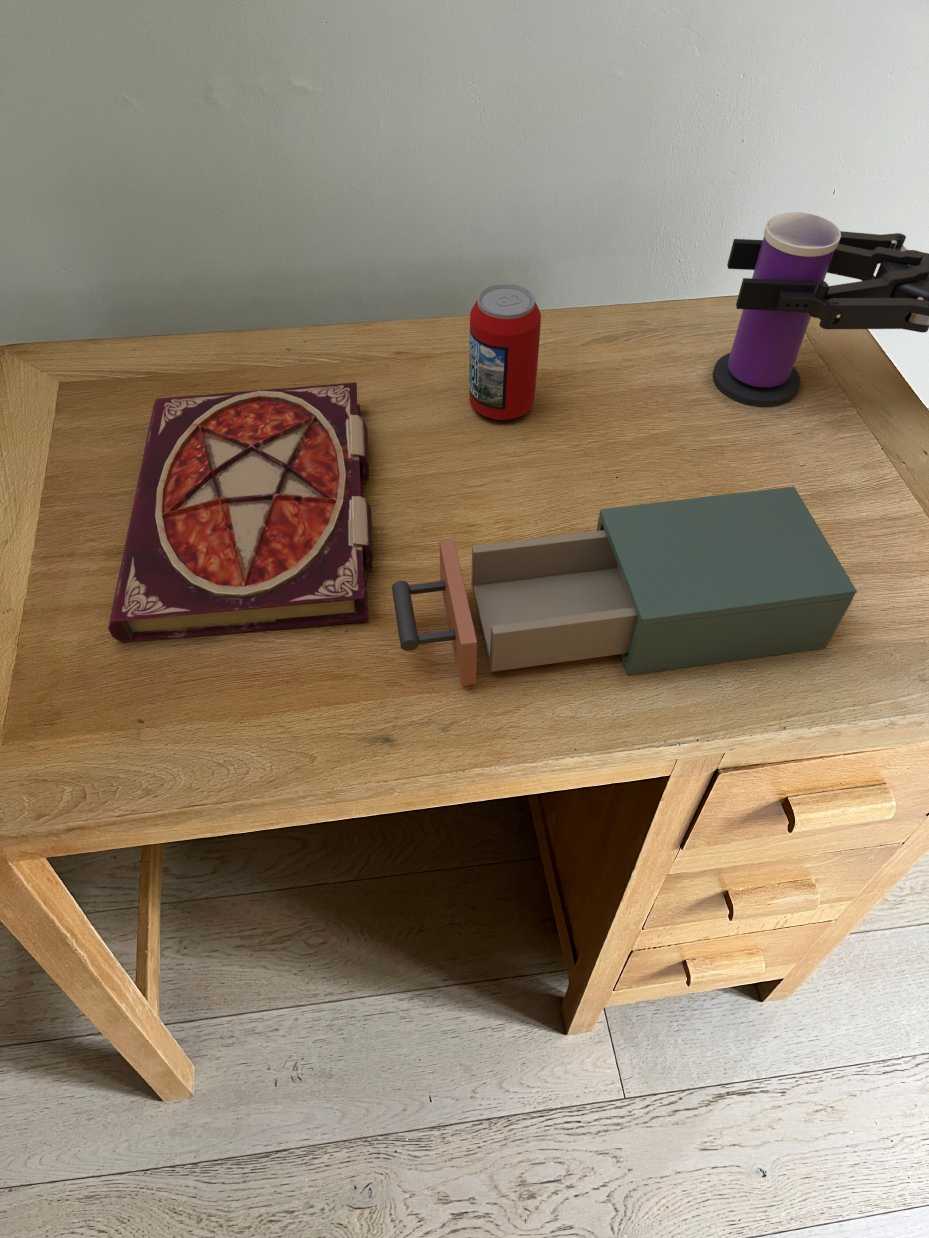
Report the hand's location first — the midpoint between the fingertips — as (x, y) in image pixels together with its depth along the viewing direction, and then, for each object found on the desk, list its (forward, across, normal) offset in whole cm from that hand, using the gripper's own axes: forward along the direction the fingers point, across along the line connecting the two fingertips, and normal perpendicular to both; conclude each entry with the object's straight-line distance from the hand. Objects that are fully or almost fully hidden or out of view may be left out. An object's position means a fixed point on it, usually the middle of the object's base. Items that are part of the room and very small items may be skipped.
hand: (735, 273), depth 82 cm
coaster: (-5, 0, -12) cm, 13 cm away
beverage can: (+22, -6, -12) cm, 26 cm away
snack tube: (-5, 0, -10) cm, 12 cm away
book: (+43, -24, -12) cm, 51 cm away
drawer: (+19, -36, -11) cm, 42 cm away
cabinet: (+4, -32, -12) cm, 34 cm away
